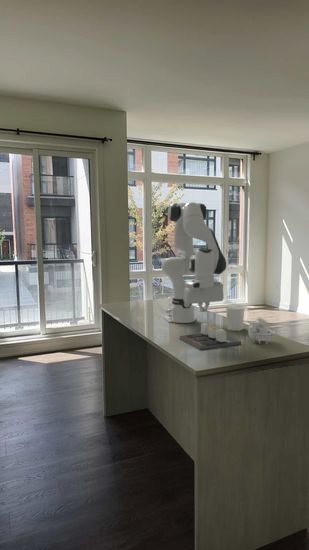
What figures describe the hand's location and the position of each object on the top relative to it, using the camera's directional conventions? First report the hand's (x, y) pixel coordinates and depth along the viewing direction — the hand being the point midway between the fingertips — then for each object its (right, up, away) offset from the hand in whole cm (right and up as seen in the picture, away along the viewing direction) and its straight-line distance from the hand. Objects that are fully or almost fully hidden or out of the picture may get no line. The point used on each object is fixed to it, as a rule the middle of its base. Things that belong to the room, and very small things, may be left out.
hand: (203, 311), depth 168 cm
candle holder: (+21, -13, +27) cm, 36 cm away
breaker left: (+2, -12, +9) cm, 15 cm away
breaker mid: (+5, -13, +2) cm, 14 cm away
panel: (+3, -15, +2) cm, 15 cm away
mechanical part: (+28, -15, 0) cm, 31 cm away
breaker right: (+8, -13, -4) cm, 16 cm away
